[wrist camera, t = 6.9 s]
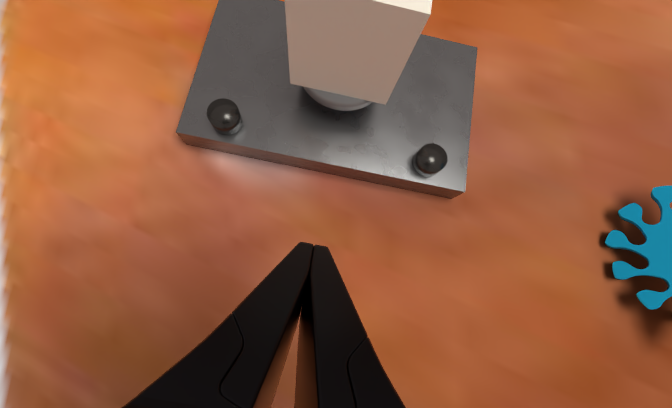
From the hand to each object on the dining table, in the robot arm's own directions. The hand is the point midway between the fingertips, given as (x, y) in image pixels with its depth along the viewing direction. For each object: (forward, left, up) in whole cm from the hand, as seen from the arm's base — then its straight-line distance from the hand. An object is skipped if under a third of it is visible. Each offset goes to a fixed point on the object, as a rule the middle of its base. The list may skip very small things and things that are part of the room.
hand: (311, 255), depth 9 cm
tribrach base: (+10, -8, -13) cm, 18 cm away
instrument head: (+12, -9, -9) cm, 17 cm away
